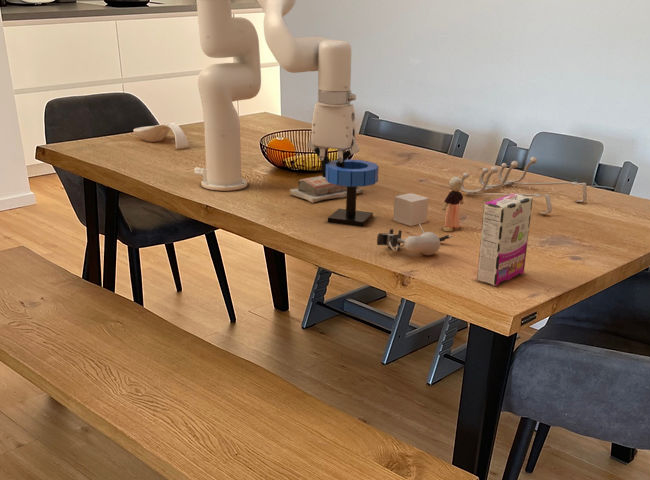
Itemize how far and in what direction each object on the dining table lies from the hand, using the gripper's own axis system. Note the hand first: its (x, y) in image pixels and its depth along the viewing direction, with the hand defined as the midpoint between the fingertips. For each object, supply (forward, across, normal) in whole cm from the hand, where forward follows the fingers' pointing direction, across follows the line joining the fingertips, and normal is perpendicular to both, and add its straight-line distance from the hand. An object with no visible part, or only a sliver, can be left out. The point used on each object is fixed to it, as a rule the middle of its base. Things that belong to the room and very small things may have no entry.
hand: (332, 176), depth 200 cm
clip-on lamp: (+10, -26, +17) cm, 32 cm away
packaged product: (+10, +8, -20) cm, 24 cm away
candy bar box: (+11, -46, +27) cm, 54 cm away
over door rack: (+10, -43, -39) cm, 59 cm away
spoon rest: (+10, +79, -59) cm, 99 cm away
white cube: (+10, -19, -5) cm, 22 cm away
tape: (0, -5, 0) cm, 5 cm away
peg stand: (+10, -5, 0) cm, 11 cm away
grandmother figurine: (+10, -30, -3) cm, 32 cm away
